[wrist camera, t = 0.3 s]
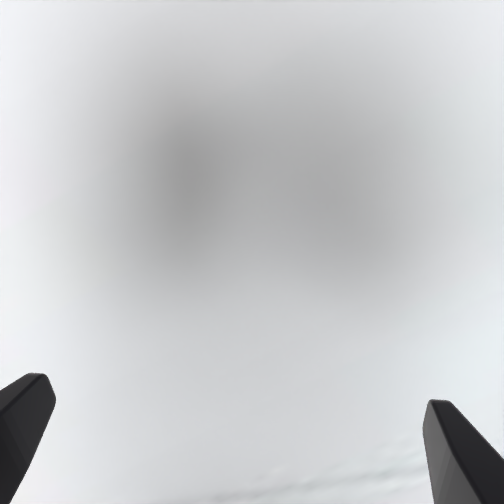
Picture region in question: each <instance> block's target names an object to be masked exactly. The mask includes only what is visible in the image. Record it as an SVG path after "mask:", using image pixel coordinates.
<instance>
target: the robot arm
mask: <svg viewBox="0 0 504 504" xmlns="http://www.w3.org/2000/svg"><path fill="white" fill-rule="evenodd" d="M55 403H56V396H55V393H54V391H53V388H52V386H51V384H50V381H49V379H48V377H47V375H45V374H42V373H28V374H26V375H24V376H23V377H21V378H19V379H18V380H16V381H15V382H13V383H11V384H10V385H8V386H7V387H5V388H3V389H2V390H0V504H10V502H11V500H12V498H13V496H14V495H15V493H16V491H17V489H18V487H19V485H20V483H21V481H22V480H23V478H24V476H25V474H26V472H27V470H28V468H29V466H30V464H31V461H32V459H33V457H34V455H35V452H36V450H37V448H38V445H39V443H40V440H41V438H42V436H43V433H44V431H45V429H46V426H47V424H48V421H49V419H50V417H51V414H52V412H53V410H54V407H55ZM423 438H424V444H425V450H426V456H427V462H428V468H429V475H430V481H431V487H432V493H433V499H434V504H504V459H503V458H502V457H501V456H500V454H499V453H498V452H497V451H496V450H495V449H494V448H493V447H492V446H491V445H490V444H489V443H488V441H487V440H486V439H485V438H484V437H483V436H482V435H481V434H480V433H479V432H478V431H477V430H476V428H475V427H474V426H473V425H472V424H471V423H470V422H469V421H468V420H467V419H466V418H465V417H464V415H463V414H462V413H461V412H460V411H459V410H458V409H457V408H456V407H455V406H454V405H453V404H452V403H451V402H450V401H447V400H435V399H432V400H429V402H428V404H427V409H426V413H425V418H424V422H423Z"/></svg>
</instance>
